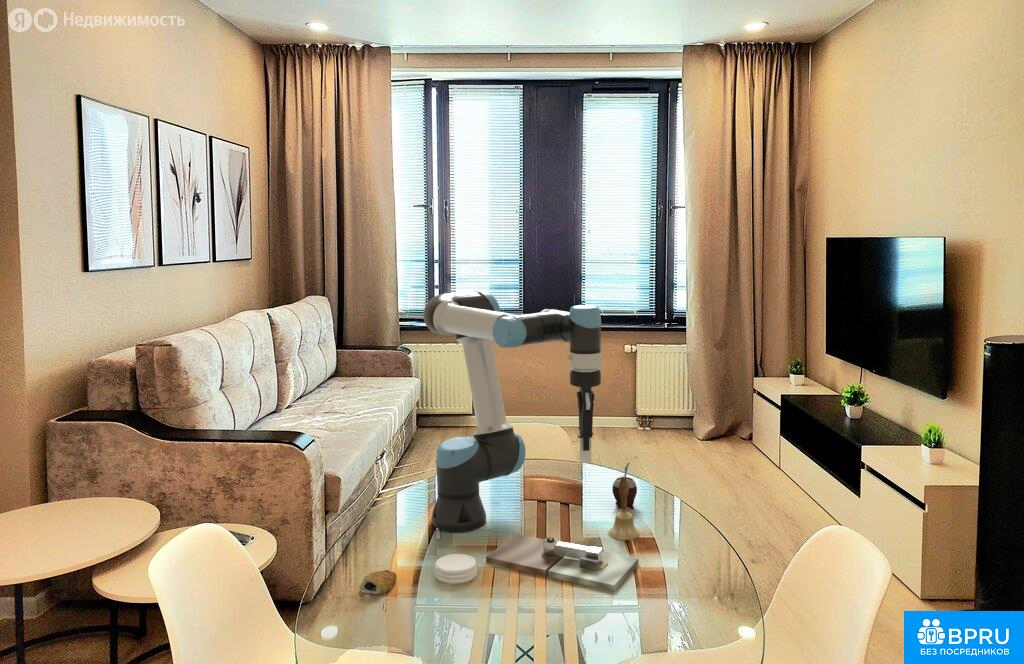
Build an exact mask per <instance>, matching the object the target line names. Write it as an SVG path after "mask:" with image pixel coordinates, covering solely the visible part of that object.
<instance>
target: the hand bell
mask: <svg viewBox="0 0 1024 664" xmlns="http://www.w3.org/2000/svg"><path fill="white" fill-rule="evenodd" d="M620 477H621V480H620V483H619V494H620V497H621V509H620V511H619V512H617V513H616V514H615V518H614V523H613V525H612V527H611V528H610V529H609V530H608V533H607V534H608V536H609V537H611V538H613V539H616V540H621V541H631V540H635V539H637V538H638V537H639V536H640V534H641V533H640V531H639V530H638V529H637V528H636V526H635V524H634V517H633V515H632V513H630V512H628V508H627V497H628V492H629V487H628V483H627V480H626V477H627V476H626V477H624V476H620Z"/></svg>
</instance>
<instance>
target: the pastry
mask: <svg viewBox="0 0 1024 664" xmlns="http://www.w3.org/2000/svg"><path fill="white" fill-rule="evenodd" d="M397 578H398V577H397V574H396V572H394V571H392V570H389V569H383V570H378V571H372V572H370V573H369V574H368V575H365V576H364V577H363V579H362V580H363V581H361V583H360V584H359V590H360V591H362V590H363V591H364V592H365V593H364V592H363V593H364V594H369V593H372V594H373V595H377V596H378V595H384V594H385V593H387V592H389V591H390V590H392V588H393V587H394V586H395V584H396V583H397ZM394 583H395V584H394ZM392 586H393V587H392ZM391 587H392V588H391ZM372 594H371V595H372Z"/></svg>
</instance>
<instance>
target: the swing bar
mask: <svg viewBox="0 0 1024 664" xmlns="http://www.w3.org/2000/svg"><path fill="white" fill-rule="evenodd" d="M603 551H604V550H603V547H598V546H592V545H591V546H587V545H581V544H575V543H571V542H564V541H559V540H558V539H556V538H555V537H546V538H545V540H544V541H543V553H544V554H545V555H548V556H554V555H559V556H565V557H570V558H576V559H580V558H581V557H586V558H591V559H596V560H599V562H600V561H601V560H602V558H603Z"/></svg>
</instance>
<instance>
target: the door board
mask: <svg viewBox="0 0 1024 664" xmlns="http://www.w3.org/2000/svg"><path fill="white" fill-rule="evenodd" d="M545 539H546V538H545ZM545 539H543V538H539V537H534V536H529V535H526V534H525V535H524V534H519V533H515V535H513V536H512V537H511V538H509V539H508V540H506V541H505V542H504V543H502V544H501V545H500V546H498V547H497V548H496V549H494V550H493V551H492V552H491V553H489V554H488V555H486V556H485V563H487V564H490V565H496V566H499V567H503V566H504V568H509V569H513V570H518V571H522V572H525V573H526V572H527V573H531V574H534V575H535V574H536V575H539V576H543V577H546V576H547V575H548V577H549V578H552V579H556V580H557V579H558V580H561V581H567V582H570V583H574V584H579V585H584V586H587V587H592V588H597V589H601V590H605V591H609V592H615V591H616V590H617V589H618V587H619V586H620V585H621V584H623V582H624V581H625V580H626V579H627V578H628V577H629V576H630V575H631V574H632V572H633V571H634V570H635V569H636V568H637V567H638V565H639V558H638V557H633V556H628V555H623V554H620V553H619V554H618V553H614V552H608V551H604V550H603V558H602V560H601V561H600V562H599V560H596V559H591V558H586V557H581V558H580V559H576V558H570V557H565V556H559V555H554V556H548V555H545V554H544V553H543V541H544V540H545Z"/></svg>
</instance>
